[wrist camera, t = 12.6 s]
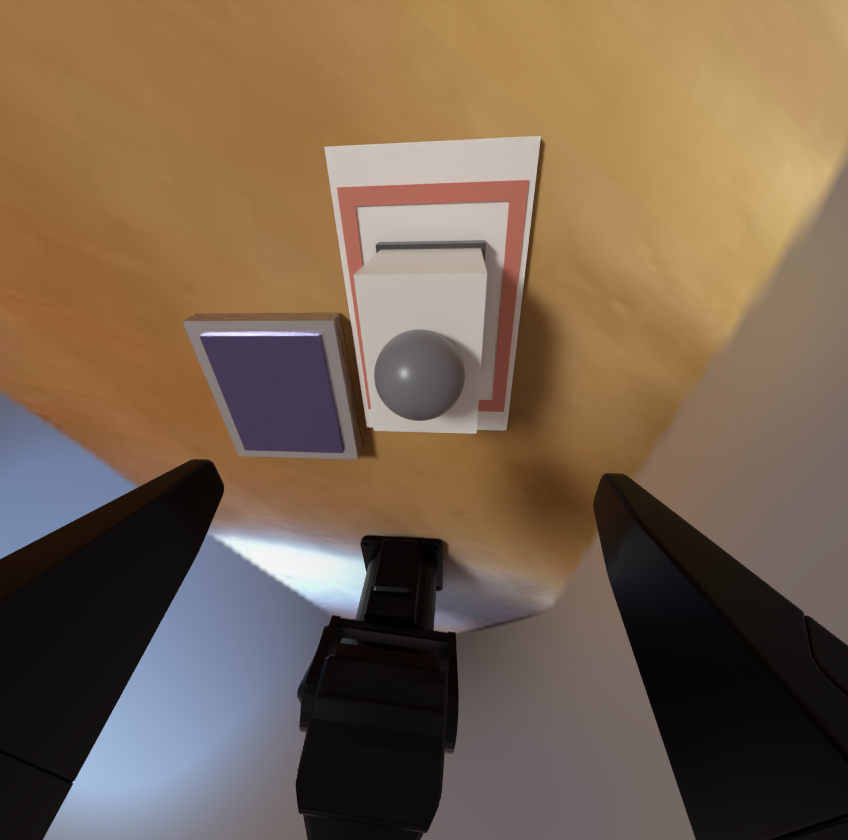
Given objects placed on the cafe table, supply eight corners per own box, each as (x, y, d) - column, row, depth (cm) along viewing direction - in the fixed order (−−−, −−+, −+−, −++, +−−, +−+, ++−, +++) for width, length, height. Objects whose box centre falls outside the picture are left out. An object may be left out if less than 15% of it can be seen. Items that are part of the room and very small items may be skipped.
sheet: (506, 427, 22) (506, 431, 22) (367, 424, 23) (366, 428, 22) (539, 136, 14) (541, 135, 14) (326, 147, 15) (323, 146, 15)
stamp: (484, 240, 16) (500, 288, 9) (476, 376, 20) (484, 480, 13) (378, 242, 17) (321, 289, 10) (390, 375, 20) (355, 475, 14)
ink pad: (362, 447, 24) (357, 462, 23) (247, 444, 25) (236, 458, 23) (340, 312, 19) (331, 322, 18) (196, 313, 20) (179, 322, 18)
